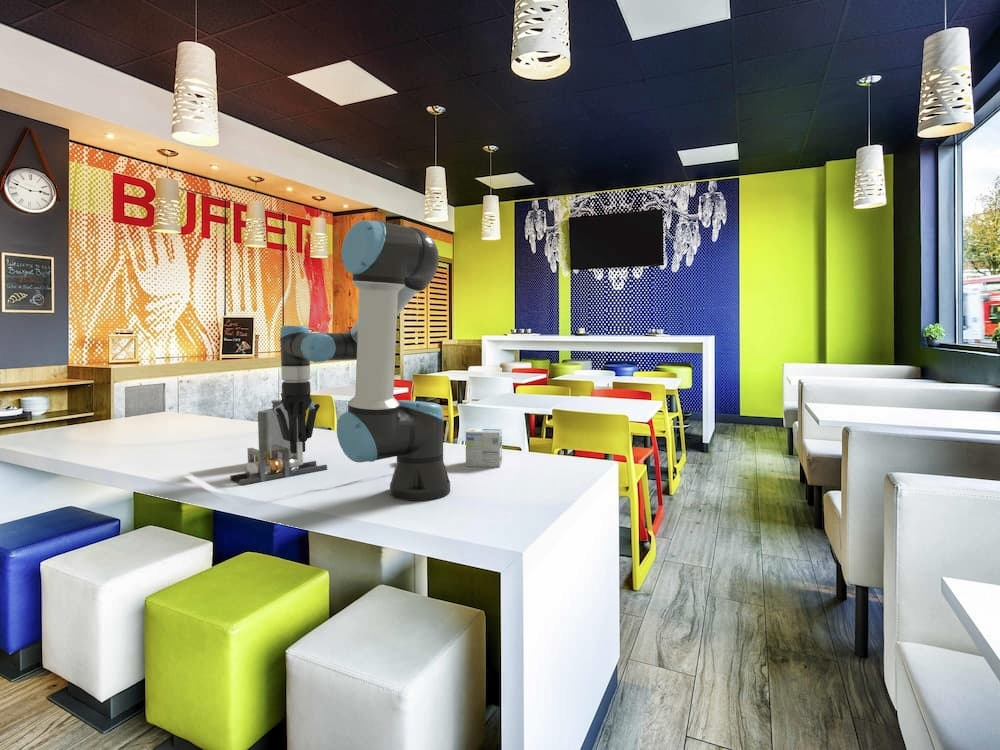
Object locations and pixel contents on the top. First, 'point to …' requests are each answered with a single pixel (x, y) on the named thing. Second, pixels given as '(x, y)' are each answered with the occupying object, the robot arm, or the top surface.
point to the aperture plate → (267, 456)
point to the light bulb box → (484, 447)
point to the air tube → (270, 467)
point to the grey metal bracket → (274, 453)
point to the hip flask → (272, 430)
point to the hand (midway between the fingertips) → (298, 464)
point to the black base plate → (279, 474)
